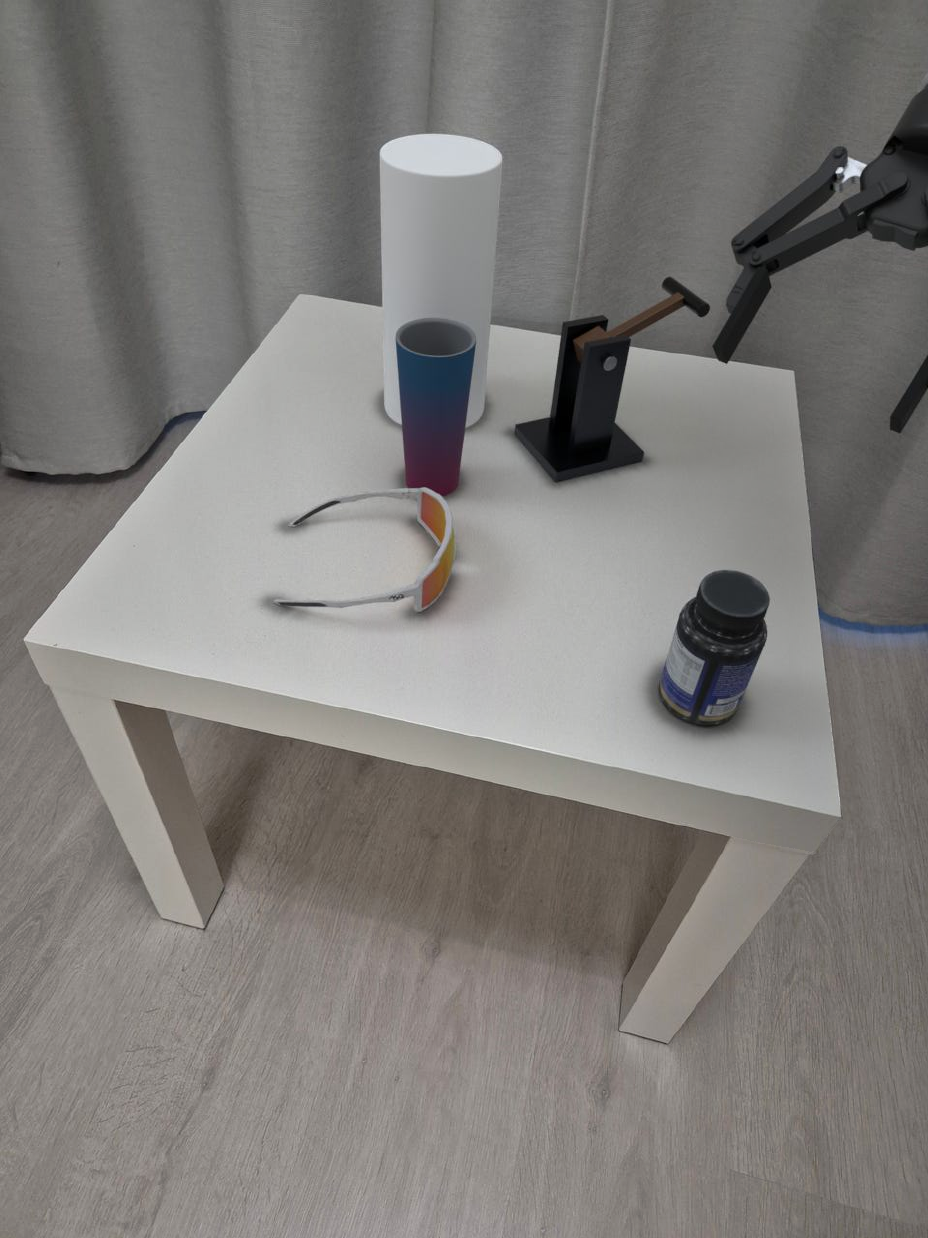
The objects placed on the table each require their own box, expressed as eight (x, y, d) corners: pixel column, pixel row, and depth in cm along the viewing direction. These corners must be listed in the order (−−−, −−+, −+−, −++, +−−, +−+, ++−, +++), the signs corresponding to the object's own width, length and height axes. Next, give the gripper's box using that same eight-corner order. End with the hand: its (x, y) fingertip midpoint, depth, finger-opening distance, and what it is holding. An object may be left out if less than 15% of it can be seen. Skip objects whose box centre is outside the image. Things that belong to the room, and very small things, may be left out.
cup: (389, 466, 86) (386, 321, 75) (455, 456, 87) (462, 313, 77) (406, 508, 81) (407, 360, 70) (476, 497, 83) (487, 351, 72)
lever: (674, 290, 85) (672, 268, 83) (711, 317, 81) (709, 296, 79) (567, 350, 84) (562, 330, 83) (599, 381, 81) (595, 360, 79)
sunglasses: (460, 625, 71) (454, 580, 67) (277, 639, 71) (261, 595, 68) (458, 514, 81) (452, 470, 77) (297, 528, 81) (284, 485, 78)
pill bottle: (739, 677, 68) (783, 573, 60) (735, 738, 64) (781, 634, 56) (661, 659, 69) (693, 554, 61) (651, 717, 65) (685, 612, 57)
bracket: (597, 415, 94) (617, 300, 85) (642, 461, 88) (669, 344, 79) (513, 434, 91) (525, 316, 82) (555, 483, 85) (573, 363, 76)
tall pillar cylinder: (363, 404, 93) (353, 149, 76) (432, 369, 99) (438, 125, 81) (436, 445, 88) (444, 184, 71) (504, 406, 94) (527, 155, 77)
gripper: (1148, 194, 59) (973, 474, 61) (803, 108, 70) (666, 349, 72) (1182, 124, 52) (984, 441, 54) (794, 40, 63) (643, 308, 65)
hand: (803, 389), depth 63 cm, fingers open, 13 cm apart
